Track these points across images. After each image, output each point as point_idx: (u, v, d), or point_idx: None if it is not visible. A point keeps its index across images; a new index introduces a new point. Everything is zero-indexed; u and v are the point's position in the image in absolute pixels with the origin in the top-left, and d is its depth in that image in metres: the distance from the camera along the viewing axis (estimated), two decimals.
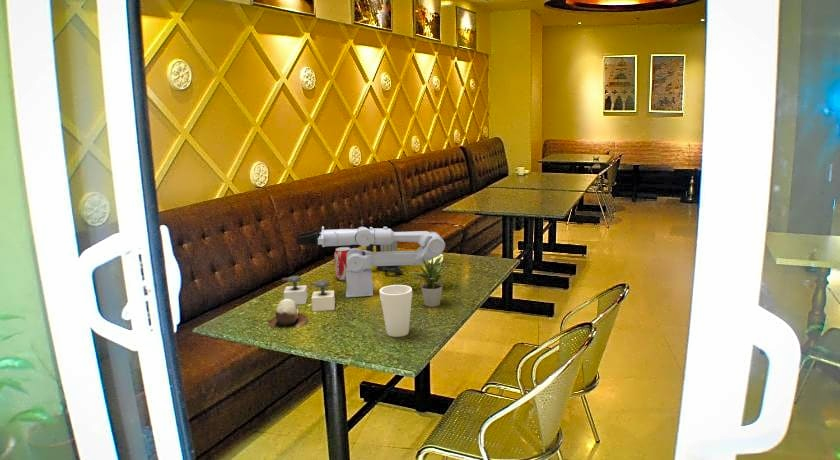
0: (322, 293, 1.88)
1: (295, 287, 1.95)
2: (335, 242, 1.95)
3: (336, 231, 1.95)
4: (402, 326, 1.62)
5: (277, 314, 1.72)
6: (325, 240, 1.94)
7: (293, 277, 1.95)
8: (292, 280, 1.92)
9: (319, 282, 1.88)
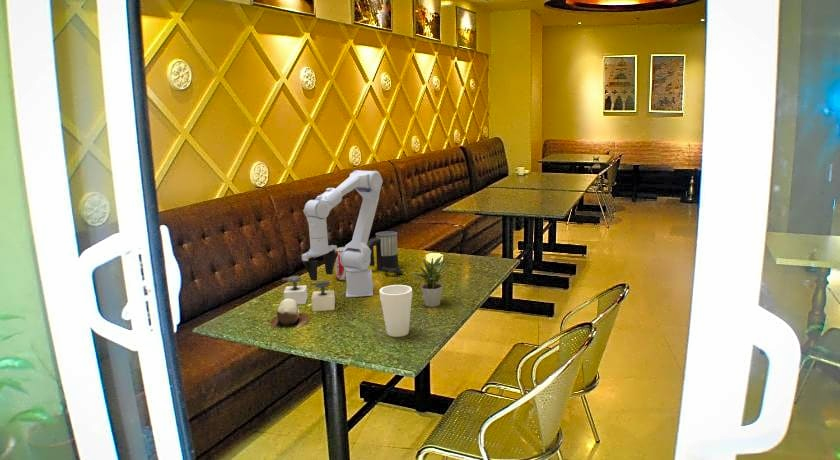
0: (322, 293, 1.88)
1: (295, 287, 1.95)
2: (316, 240, 1.82)
3: None
4: (402, 326, 1.62)
5: (278, 314, 1.73)
6: (314, 250, 1.83)
7: (293, 277, 1.95)
8: (292, 280, 1.92)
9: (319, 282, 1.88)
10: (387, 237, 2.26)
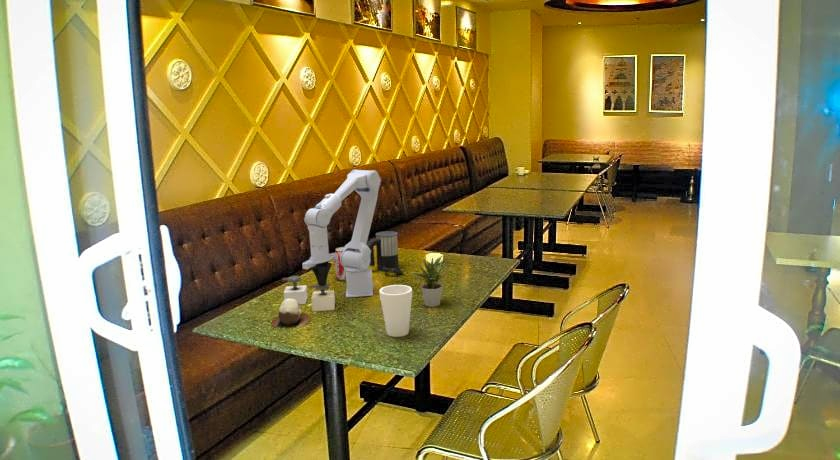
0: None
1: (295, 287, 1.95)
2: (316, 248, 1.82)
3: None
4: (402, 326, 1.62)
5: (280, 314, 1.73)
6: (315, 258, 1.83)
7: (293, 277, 1.95)
8: (292, 280, 1.92)
9: None
10: (387, 237, 2.26)
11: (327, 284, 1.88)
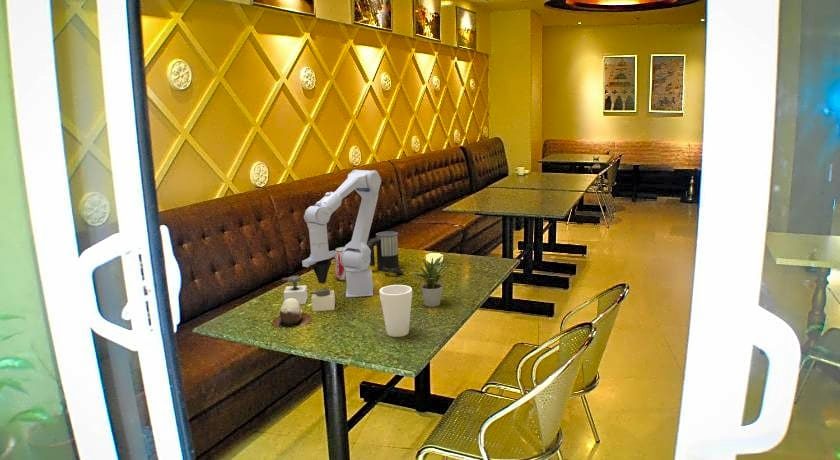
0: None
1: (295, 287, 1.95)
2: (316, 246, 1.82)
3: None
4: (402, 326, 1.62)
5: (281, 314, 1.73)
6: (315, 256, 1.83)
7: (293, 277, 1.95)
8: (292, 280, 1.92)
9: (320, 291, 1.89)
10: (387, 237, 2.26)
11: (327, 290, 1.89)
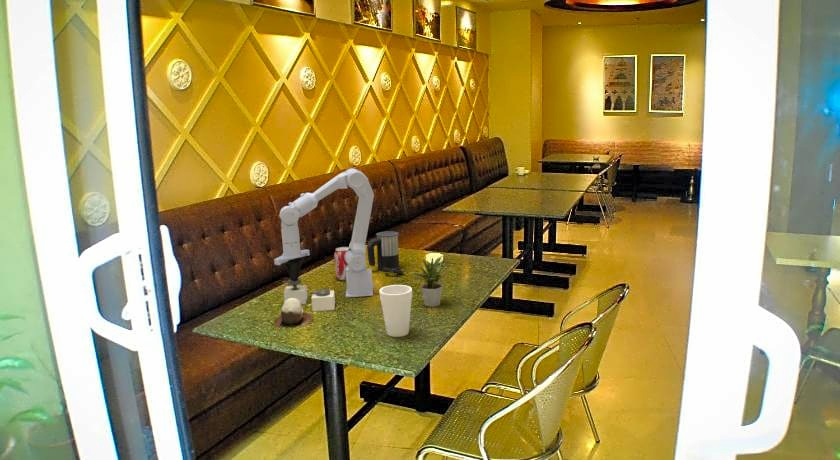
0: None
1: (295, 289, 1.95)
2: (288, 245, 1.89)
3: None
4: (402, 326, 1.62)
5: (283, 313, 1.73)
6: (286, 255, 1.90)
7: None
8: (292, 283, 1.93)
9: (320, 291, 1.89)
10: (388, 237, 2.26)
11: (327, 290, 1.89)
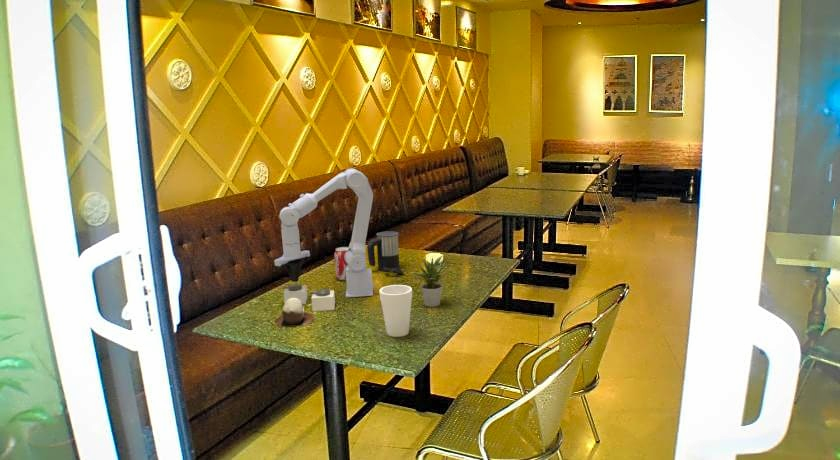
0: None
1: None
2: (288, 246, 1.90)
3: None
4: (402, 326, 1.62)
5: (284, 313, 1.73)
6: (287, 256, 1.90)
7: (294, 286, 1.95)
8: (293, 289, 1.93)
9: (320, 291, 1.89)
10: (388, 237, 2.26)
11: (327, 290, 1.89)
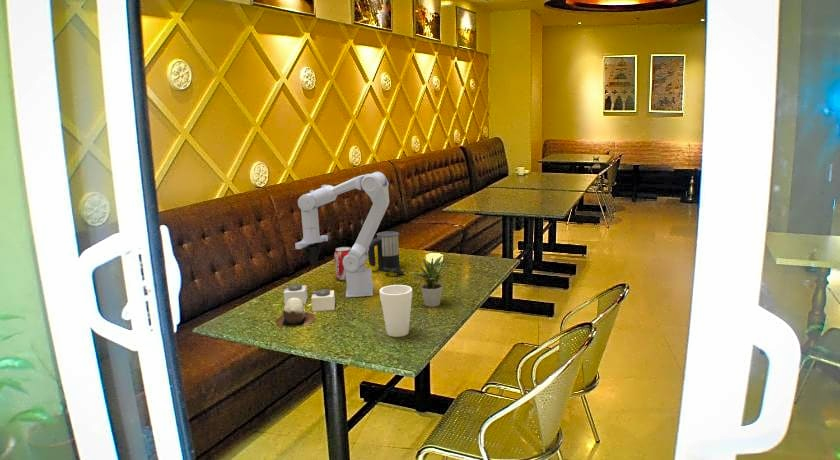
0: None
1: None
2: (308, 230, 1.98)
3: None
4: (402, 326, 1.62)
5: (285, 313, 1.73)
6: (306, 239, 1.99)
7: (294, 286, 1.95)
8: (293, 289, 1.93)
9: (320, 291, 1.89)
10: (388, 237, 2.26)
11: (327, 290, 1.89)
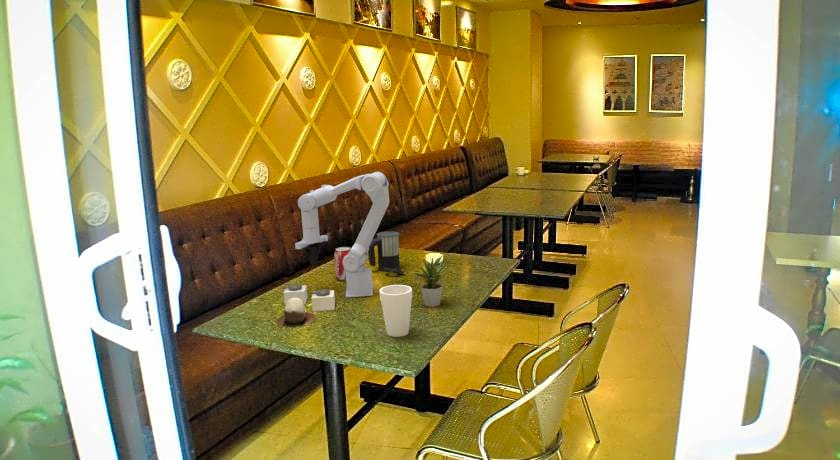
0: None
1: None
2: (308, 230, 1.98)
3: None
4: (402, 326, 1.62)
5: (286, 313, 1.73)
6: (306, 239, 1.99)
7: (294, 286, 1.95)
8: (293, 289, 1.93)
9: (320, 291, 1.89)
10: (388, 237, 2.26)
11: (327, 290, 1.89)
